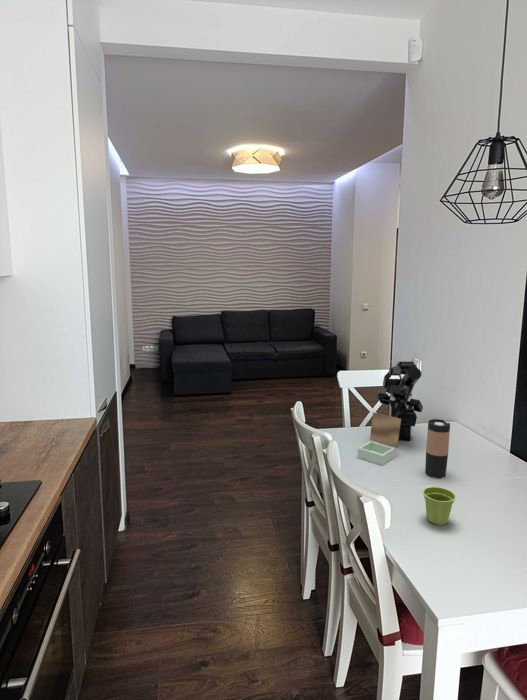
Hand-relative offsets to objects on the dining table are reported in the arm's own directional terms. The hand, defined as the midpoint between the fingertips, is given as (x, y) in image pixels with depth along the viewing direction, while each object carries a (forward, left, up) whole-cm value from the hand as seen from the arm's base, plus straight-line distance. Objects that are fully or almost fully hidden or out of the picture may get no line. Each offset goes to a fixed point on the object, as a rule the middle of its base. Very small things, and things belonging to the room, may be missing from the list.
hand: (392, 418), depth 195 cm
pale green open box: (+4, +12, -13) cm, 18 cm away
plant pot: (-22, +50, -13) cm, 57 cm away
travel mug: (-19, +17, -13) cm, 29 cm away
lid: (+2, +6, -3) cm, 7 cm away
